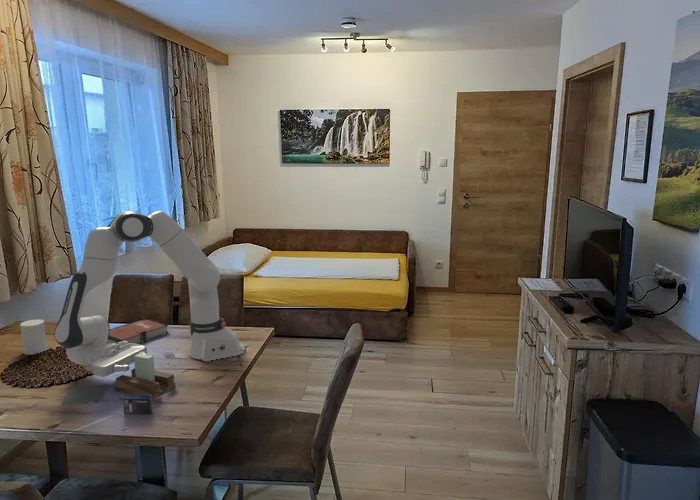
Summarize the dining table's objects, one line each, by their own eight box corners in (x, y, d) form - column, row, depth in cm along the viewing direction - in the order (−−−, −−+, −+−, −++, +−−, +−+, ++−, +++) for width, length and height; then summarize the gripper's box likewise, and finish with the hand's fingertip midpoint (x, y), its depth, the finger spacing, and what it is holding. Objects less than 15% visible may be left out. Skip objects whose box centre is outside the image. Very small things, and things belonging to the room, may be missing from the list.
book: (117, 352, 199) (116, 341, 198) (92, 343, 208) (91, 332, 207) (170, 333, 221) (169, 323, 221) (145, 326, 230) (145, 316, 229)
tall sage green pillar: (141, 382, 170) (139, 353, 168) (155, 385, 168) (153, 355, 166) (136, 385, 168) (134, 355, 166) (150, 388, 166) (148, 358, 164)
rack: (139, 378, 176) (138, 366, 175) (175, 386, 170) (174, 373, 170) (115, 391, 166) (114, 379, 165) (152, 400, 160) (152, 387, 159)
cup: (18, 352, 197) (15, 324, 194) (38, 345, 204) (35, 318, 202) (32, 355, 194) (29, 327, 191) (51, 348, 201) (48, 321, 199)
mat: (107, 384, 171) (107, 383, 171) (101, 400, 159) (101, 399, 159) (69, 389, 167) (69, 388, 167) (60, 405, 156) (60, 404, 156)
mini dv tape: (124, 413, 152) (123, 396, 151) (126, 411, 153) (125, 393, 152) (150, 414, 152) (149, 396, 151) (152, 411, 153) (151, 394, 152)
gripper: (81, 359, 162) (113, 366, 157) (128, 339, 180) (158, 344, 176) (82, 377, 163) (114, 384, 158) (129, 355, 182) (159, 360, 177)
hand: (138, 363), depth 167 cm, fingers open, 8 cm apart
